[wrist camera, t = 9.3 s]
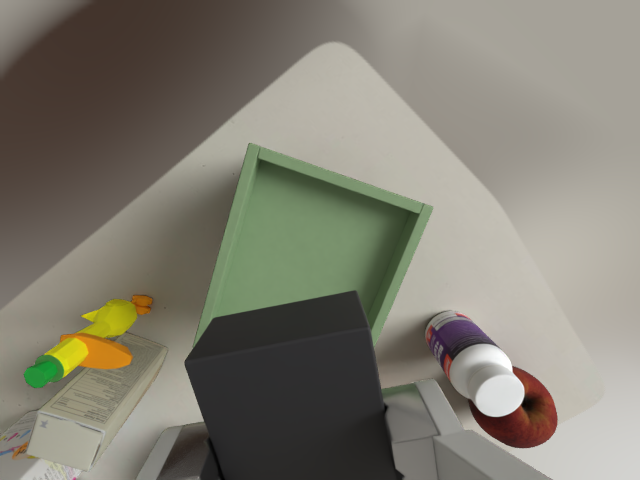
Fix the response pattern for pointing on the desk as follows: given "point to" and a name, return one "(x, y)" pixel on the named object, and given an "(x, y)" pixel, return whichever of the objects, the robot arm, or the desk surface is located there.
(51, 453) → the box
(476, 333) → the pill bottle
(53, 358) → the toy figure
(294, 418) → the block
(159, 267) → the desk surface
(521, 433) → the apple
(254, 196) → the tray
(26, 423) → the ink box
